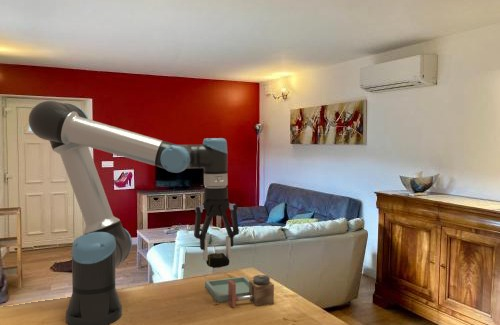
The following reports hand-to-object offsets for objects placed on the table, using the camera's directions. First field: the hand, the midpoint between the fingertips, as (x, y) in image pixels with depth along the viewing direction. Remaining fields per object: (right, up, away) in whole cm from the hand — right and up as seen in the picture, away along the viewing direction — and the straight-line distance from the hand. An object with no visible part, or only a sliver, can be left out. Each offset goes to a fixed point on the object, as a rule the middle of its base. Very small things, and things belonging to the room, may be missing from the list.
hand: (217, 258), depth 133 cm
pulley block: (+14, -14, 0) cm, 20 cm away
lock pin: (+11, -14, -1) cm, 17 cm away
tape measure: (+1, -3, 0) cm, 3 cm away
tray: (+4, -13, +8) cm, 16 cm away
